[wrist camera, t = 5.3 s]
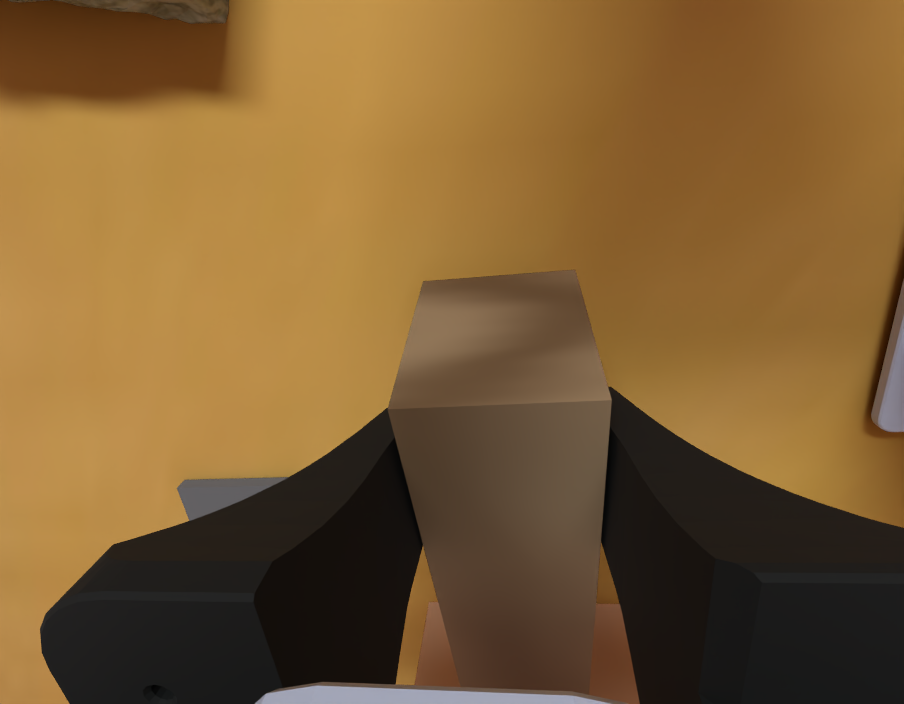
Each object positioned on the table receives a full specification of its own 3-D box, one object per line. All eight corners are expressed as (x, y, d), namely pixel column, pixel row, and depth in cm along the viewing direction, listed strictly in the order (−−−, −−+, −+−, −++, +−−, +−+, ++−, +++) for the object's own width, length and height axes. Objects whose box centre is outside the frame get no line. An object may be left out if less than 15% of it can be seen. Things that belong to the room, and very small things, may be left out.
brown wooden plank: (575, 269, 11) (611, 400, 7) (569, 570, 18) (587, 716, 14) (423, 281, 12) (387, 409, 8) (473, 570, 18) (466, 711, 15)
